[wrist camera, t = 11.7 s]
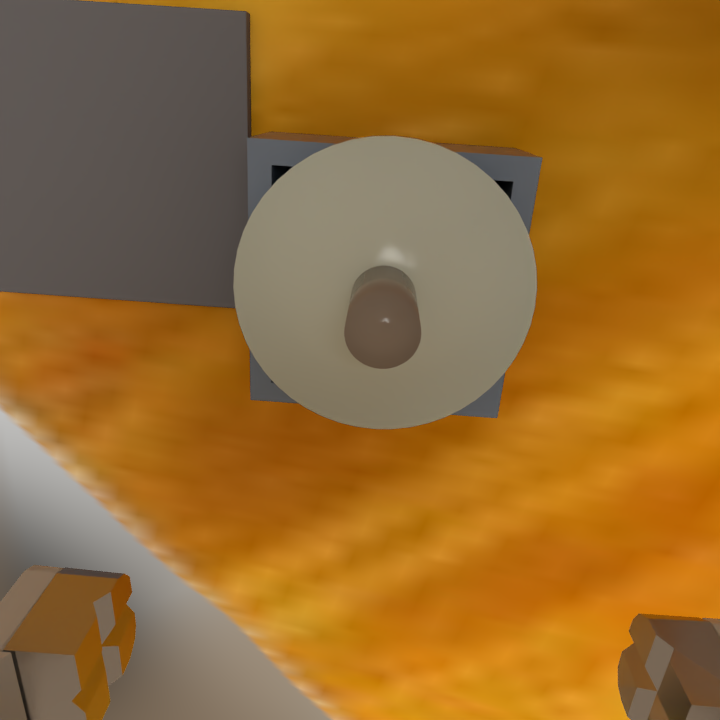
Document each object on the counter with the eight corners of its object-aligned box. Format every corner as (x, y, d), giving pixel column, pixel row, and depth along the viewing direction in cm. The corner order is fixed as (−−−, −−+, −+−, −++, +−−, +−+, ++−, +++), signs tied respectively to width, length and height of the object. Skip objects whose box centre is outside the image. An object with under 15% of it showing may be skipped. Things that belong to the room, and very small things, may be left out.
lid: (234, 125, 24) (195, 131, 19) (557, 145, 24) (601, 156, 19) (242, 409, 29) (212, 471, 24) (507, 427, 29) (531, 494, 24)
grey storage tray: (271, 131, 29) (247, 137, 24) (515, 148, 29) (542, 157, 24) (270, 355, 34) (250, 399, 29) (481, 371, 34) (497, 418, 29)
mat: (-52, -6, 28) (-64, -9, 27) (249, 13, 27) (245, 11, 27) (2, 286, 33) (-7, 290, 32) (252, 304, 33) (249, 309, 32)
